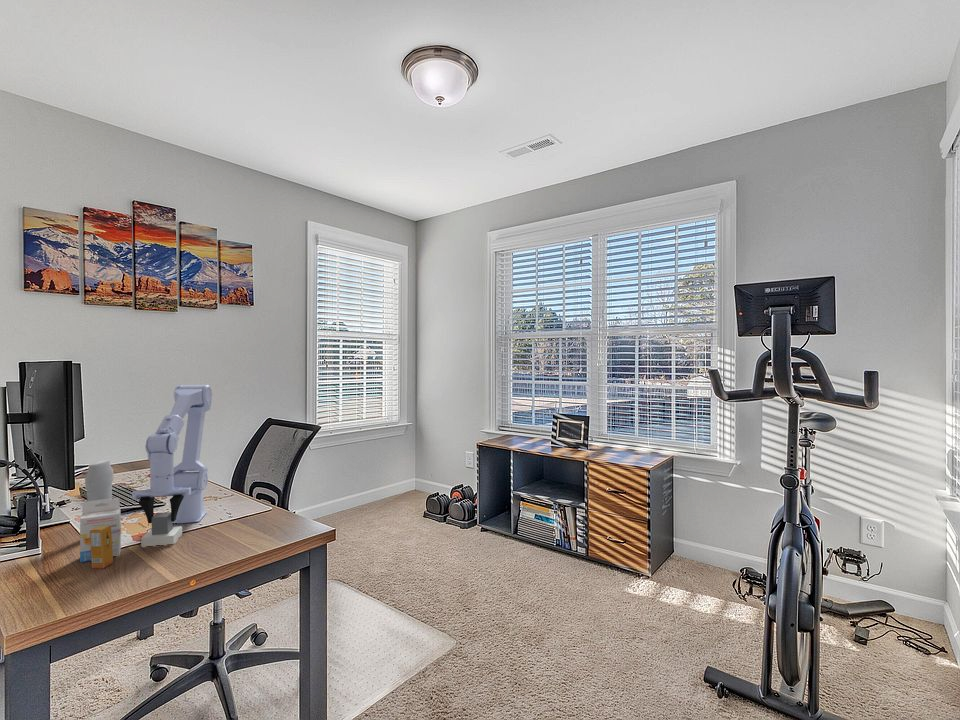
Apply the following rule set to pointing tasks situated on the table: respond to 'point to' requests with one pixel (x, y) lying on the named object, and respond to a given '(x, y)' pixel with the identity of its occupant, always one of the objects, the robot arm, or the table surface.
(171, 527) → the charcoal block
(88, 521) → the ink box
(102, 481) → the tall pale column
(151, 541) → the base block
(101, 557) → the supplement box
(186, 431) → the robot arm
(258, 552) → the table surface
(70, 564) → the table surface
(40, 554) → the table surface
